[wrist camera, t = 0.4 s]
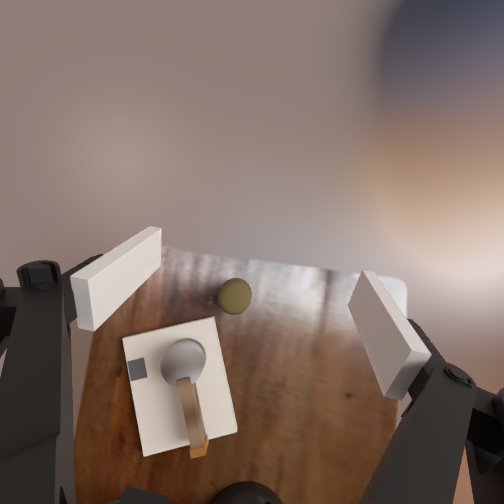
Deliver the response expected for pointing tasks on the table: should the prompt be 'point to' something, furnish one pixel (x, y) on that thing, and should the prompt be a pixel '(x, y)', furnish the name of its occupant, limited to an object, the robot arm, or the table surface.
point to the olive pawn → (234, 296)
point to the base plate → (168, 397)
